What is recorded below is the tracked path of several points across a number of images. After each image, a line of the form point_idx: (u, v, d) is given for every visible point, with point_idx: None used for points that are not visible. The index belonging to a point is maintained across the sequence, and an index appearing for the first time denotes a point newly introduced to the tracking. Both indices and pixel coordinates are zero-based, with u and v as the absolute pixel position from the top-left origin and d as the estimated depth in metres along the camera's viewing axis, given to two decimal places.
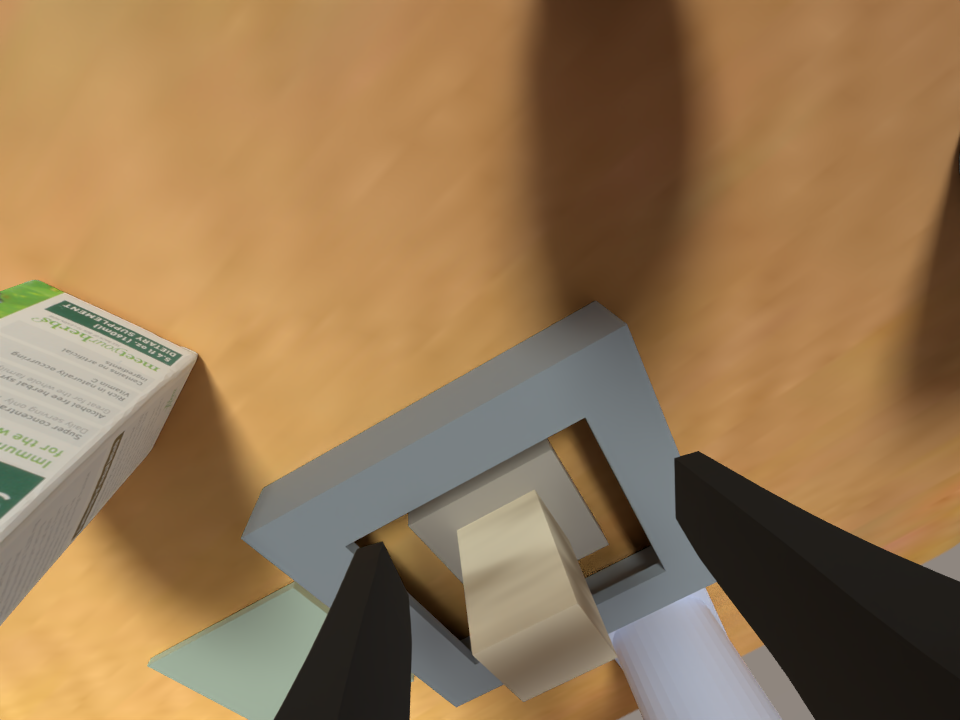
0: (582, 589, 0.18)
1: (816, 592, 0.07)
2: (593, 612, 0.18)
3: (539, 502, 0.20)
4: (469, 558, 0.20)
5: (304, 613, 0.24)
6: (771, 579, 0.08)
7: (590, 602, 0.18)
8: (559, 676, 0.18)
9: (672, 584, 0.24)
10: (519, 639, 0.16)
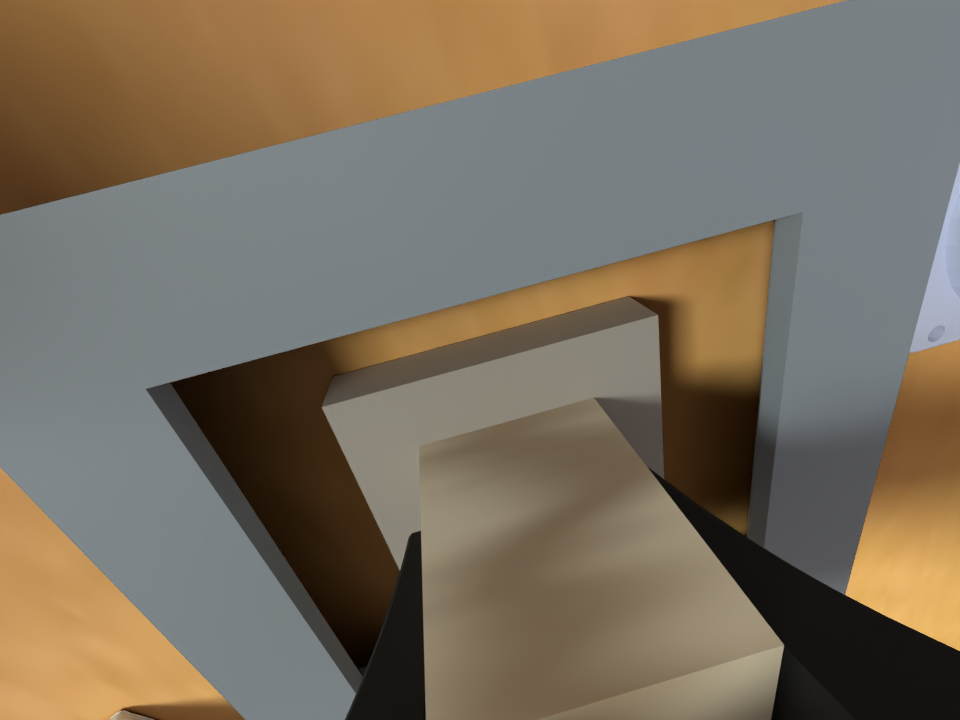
0: (568, 558, 0.07)
1: None
2: (618, 596, 0.06)
3: (422, 467, 0.10)
4: None
5: None
6: None
7: (616, 558, 0.07)
8: None
9: (874, 192, 0.08)
10: None
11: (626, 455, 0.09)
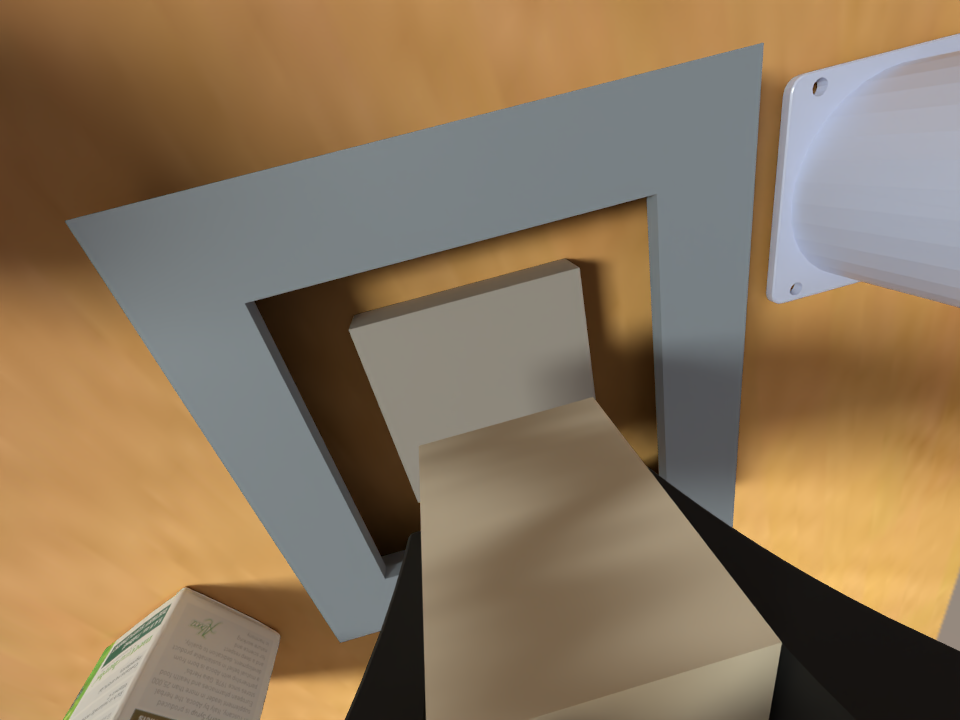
0: (567, 557, 0.07)
1: None
2: (617, 594, 0.06)
3: (422, 467, 0.10)
4: None
5: None
6: None
7: (615, 557, 0.07)
8: None
9: (702, 181, 0.12)
10: None
11: (625, 454, 0.09)
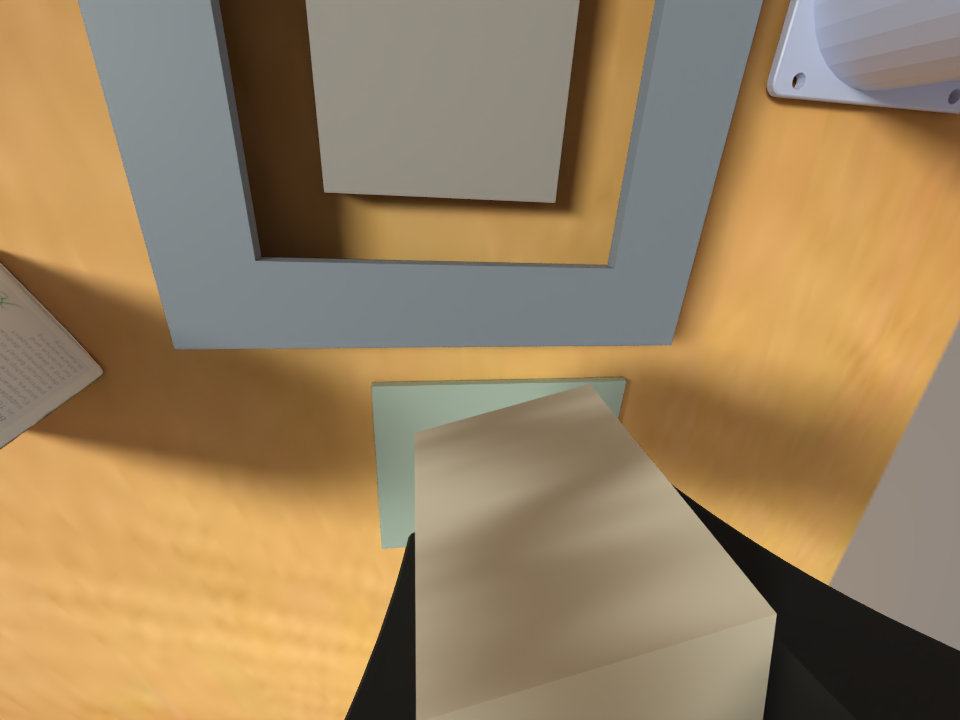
0: (561, 536, 0.07)
1: None
2: (611, 570, 0.06)
3: (417, 453, 0.10)
4: None
5: (418, 402, 0.19)
6: None
7: (609, 535, 0.07)
8: None
9: None
10: None
11: (621, 437, 0.08)
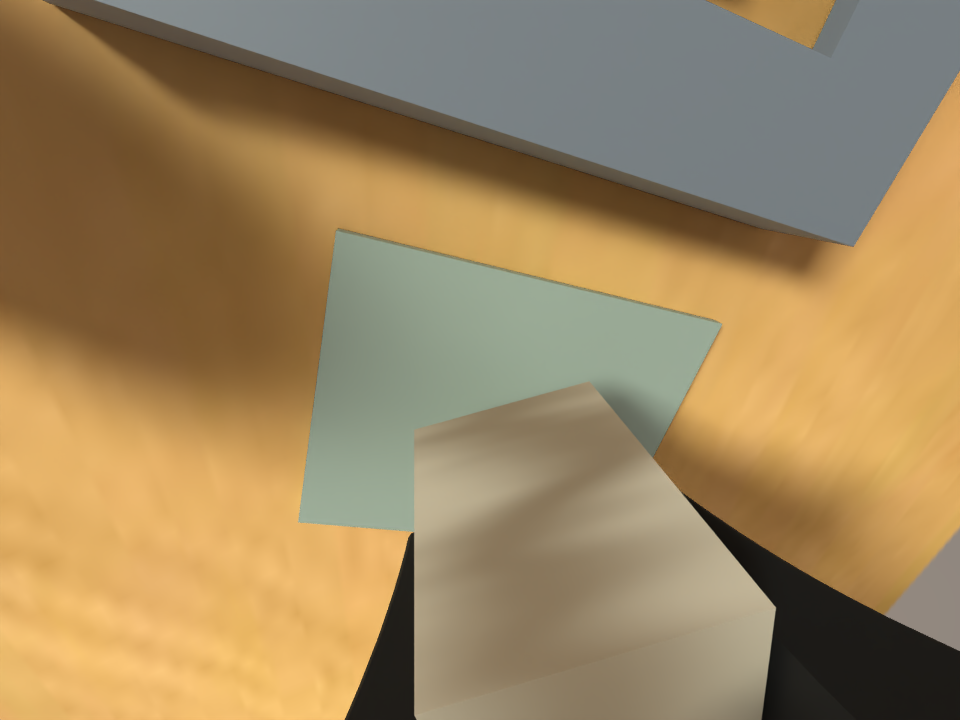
0: (560, 531, 0.07)
1: None
2: (610, 565, 0.06)
3: (417, 449, 0.10)
4: None
5: (409, 282, 0.12)
6: None
7: (608, 530, 0.07)
8: None
9: None
10: None
11: (620, 434, 0.08)
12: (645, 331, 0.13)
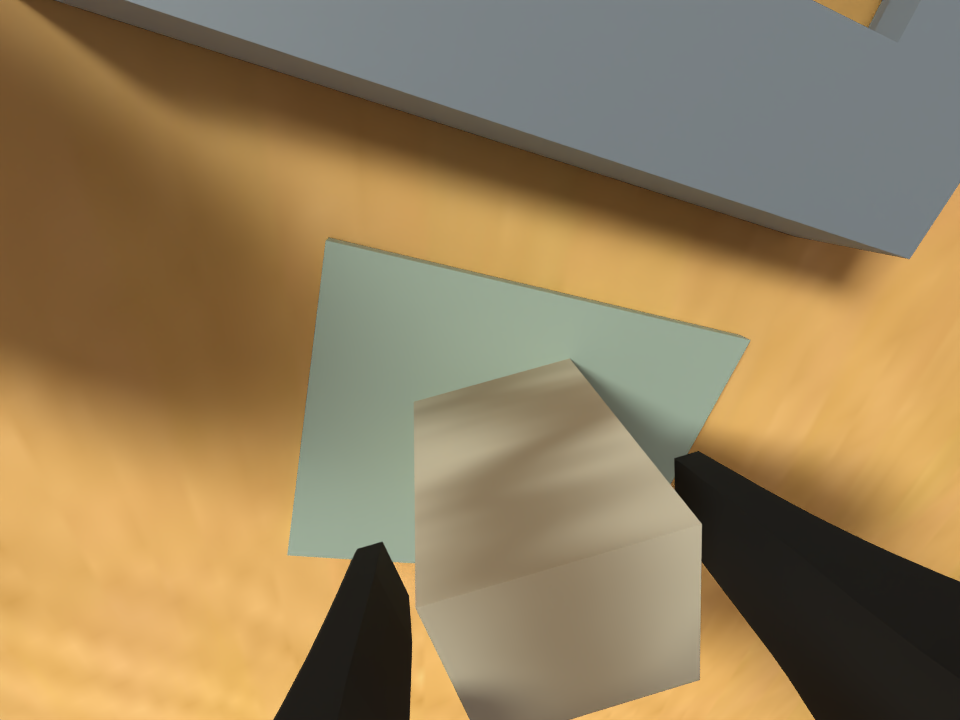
0: (537, 476, 0.08)
1: (816, 592, 0.07)
2: (575, 499, 0.07)
3: (416, 417, 0.11)
4: None
5: (408, 296, 0.10)
6: (771, 579, 0.08)
7: (576, 474, 0.08)
8: (669, 630, 0.07)
9: None
10: (485, 691, 0.07)
11: (593, 400, 0.10)
12: (666, 348, 0.12)
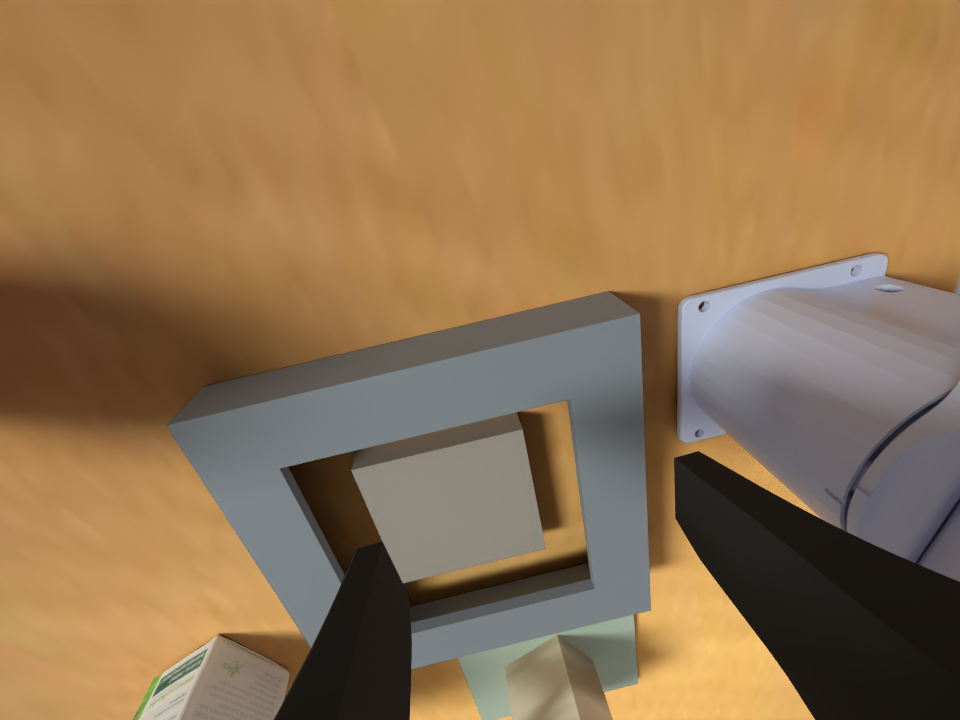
0: None
1: (816, 592, 0.07)
2: None
3: (507, 680, 0.28)
4: None
5: None
6: (771, 579, 0.08)
7: None
8: None
9: (603, 391, 0.17)
10: None
11: (564, 673, 0.26)
12: None
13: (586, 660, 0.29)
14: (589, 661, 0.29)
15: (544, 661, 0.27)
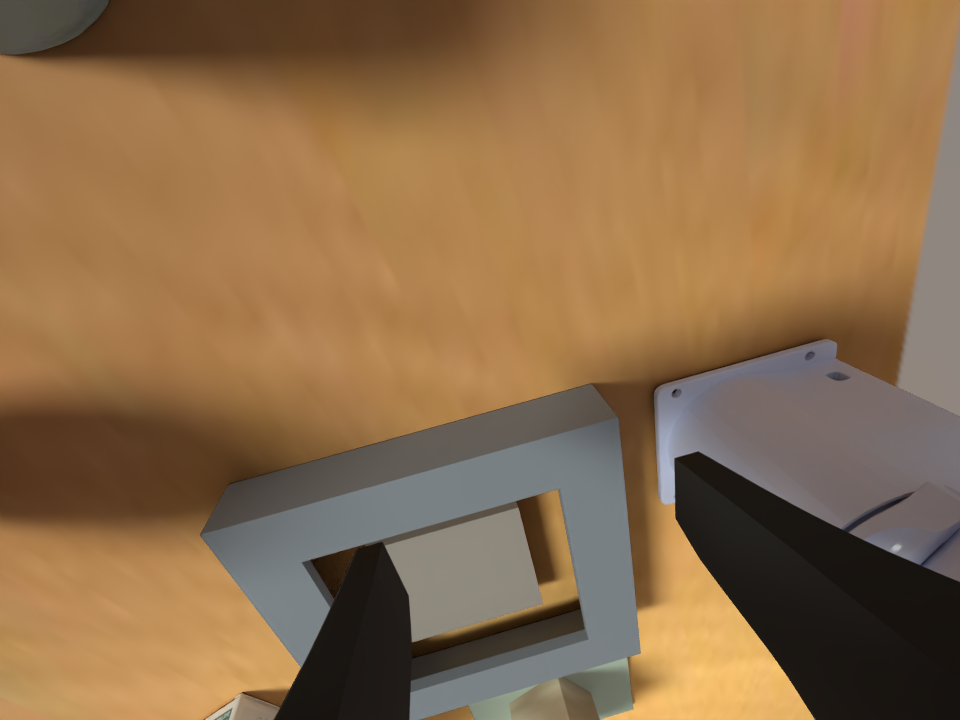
0: None
1: (816, 592, 0.07)
2: None
3: (512, 716, 0.30)
4: None
5: None
6: (771, 579, 0.08)
7: None
8: None
9: (589, 479, 0.19)
10: None
11: (564, 710, 0.28)
12: None
13: (584, 693, 0.31)
14: (587, 694, 0.31)
15: (545, 698, 0.29)
